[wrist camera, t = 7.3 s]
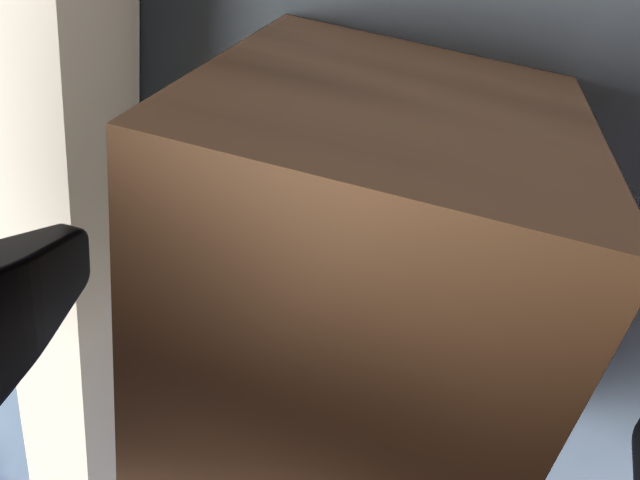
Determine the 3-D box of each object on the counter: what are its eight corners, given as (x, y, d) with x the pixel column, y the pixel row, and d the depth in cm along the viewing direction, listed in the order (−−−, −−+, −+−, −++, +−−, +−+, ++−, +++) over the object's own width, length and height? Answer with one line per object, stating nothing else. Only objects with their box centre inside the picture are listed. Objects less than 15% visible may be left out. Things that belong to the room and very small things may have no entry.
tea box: (458, 380, 14) (442, 666, 9) (242, 318, 14) (108, 552, 9) (574, 76, 10) (665, 261, 5) (278, 11, 11) (91, 118, 6)
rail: (-19, -866, 7) (-252, -1213, 5) (140, -857, 6) (-28, -1223, 4) (83, 492, 19) (33, 567, 17) (138, 511, 19) (95, 589, 17)
